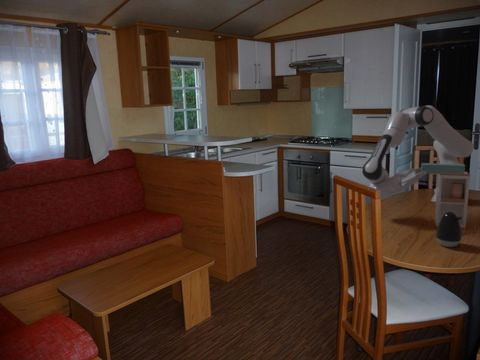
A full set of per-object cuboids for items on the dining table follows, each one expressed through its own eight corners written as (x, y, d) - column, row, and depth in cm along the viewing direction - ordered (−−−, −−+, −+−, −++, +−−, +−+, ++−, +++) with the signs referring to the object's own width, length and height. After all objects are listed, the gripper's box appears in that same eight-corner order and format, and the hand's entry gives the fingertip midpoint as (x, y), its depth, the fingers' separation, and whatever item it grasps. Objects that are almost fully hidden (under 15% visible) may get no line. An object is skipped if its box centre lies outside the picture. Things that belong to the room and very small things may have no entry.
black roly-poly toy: (451, 251, 175) (453, 217, 172) (430, 243, 184) (432, 211, 181) (466, 246, 179) (469, 213, 176) (445, 239, 188) (447, 207, 185)
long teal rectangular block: (421, 171, 209) (421, 163, 208) (463, 173, 203) (463, 164, 202) (421, 173, 206) (422, 164, 205) (464, 174, 199) (465, 165, 198)
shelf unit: (434, 220, 214) (438, 169, 209) (462, 222, 210) (467, 170, 204) (436, 225, 206) (439, 173, 200) (465, 227, 202) (470, 173, 196)
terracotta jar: (449, 197, 207) (451, 182, 206) (461, 198, 206) (462, 182, 204) (451, 200, 203) (452, 184, 201) (462, 201, 201) (463, 185, 199)
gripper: (396, 181, 203) (423, 168, 197) (396, 173, 221) (421, 160, 216) (403, 192, 203) (430, 179, 197) (402, 183, 221) (427, 171, 216)
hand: (425, 169), depth 206 cm, fingers open, 8 cm apart
